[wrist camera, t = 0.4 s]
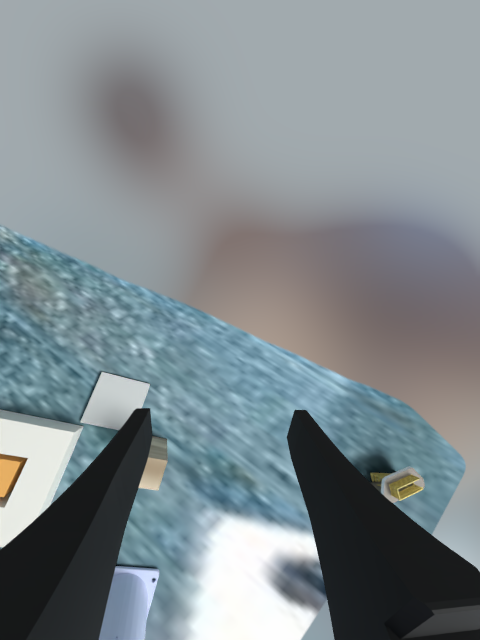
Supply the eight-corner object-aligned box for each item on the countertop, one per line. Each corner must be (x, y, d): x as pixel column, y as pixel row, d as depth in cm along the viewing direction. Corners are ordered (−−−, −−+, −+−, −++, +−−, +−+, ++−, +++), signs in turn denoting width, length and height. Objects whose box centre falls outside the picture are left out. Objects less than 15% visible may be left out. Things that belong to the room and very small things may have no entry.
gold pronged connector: (335, 452, 43) (363, 466, 37) (402, 429, 49) (436, 437, 43) (349, 524, 41) (381, 550, 35) (418, 490, 47) (455, 508, 41)
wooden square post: (159, 460, 34) (158, 490, 25) (139, 457, 33) (130, 486, 25) (166, 439, 35) (167, 460, 26) (146, 434, 34) (140, 455, 26)
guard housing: (40, 528, 28) (23, 548, 25) (-80, 516, 26) (-116, 537, 22) (83, 426, 32) (74, 432, 29) (-19, 405, 29) (-42, 410, 26)
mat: (132, 432, 33) (132, 432, 33) (81, 421, 32) (80, 422, 31) (150, 384, 35) (150, 384, 35) (102, 371, 34) (101, 371, 33)
